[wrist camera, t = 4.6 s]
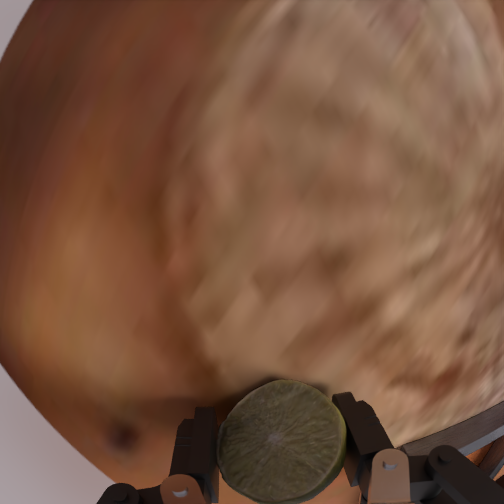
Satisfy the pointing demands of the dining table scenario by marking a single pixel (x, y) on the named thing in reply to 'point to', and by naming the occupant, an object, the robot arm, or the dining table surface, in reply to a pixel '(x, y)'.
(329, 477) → the lime
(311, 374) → the dining table surface
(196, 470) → the robot arm
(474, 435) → the grey square frame
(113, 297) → the dining table surface
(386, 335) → the dining table surface
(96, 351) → the dining table surface
